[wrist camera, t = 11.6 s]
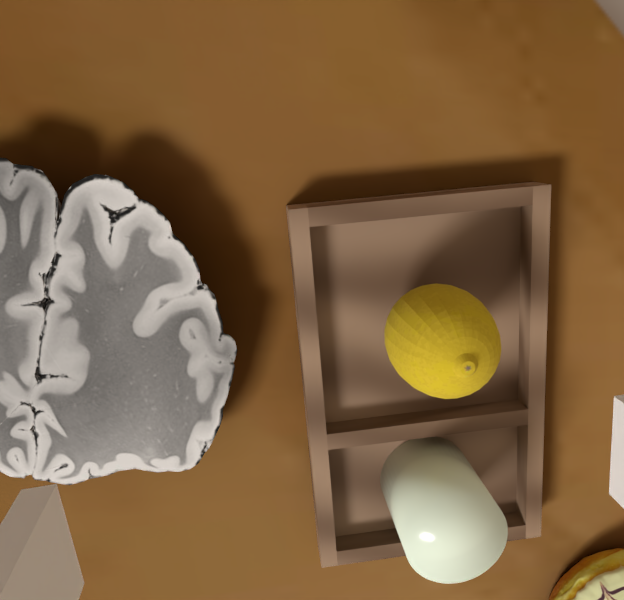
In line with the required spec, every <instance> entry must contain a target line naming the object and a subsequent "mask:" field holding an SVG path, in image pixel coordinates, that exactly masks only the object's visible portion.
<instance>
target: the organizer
mask: <svg viewBox="0 0 624 600" xmlns="http://www.w3.org/2000/svg"><path fill="white" fill-rule="evenodd" d="M286 210H287V221H288V231H289V242H290V253H291V263H292V274H293V285H294V295H295V306H296V317H297V327H298V338H299V348H300V359H301V370H302V380H303V391H304V402H305V412H306V423H307V434H308V444H309V455H310V466H311V476H312V487H313V498H314V508H315V519H316V529H317V540H318V549H319V555H320V561H321V567H322V568H323V567H330V566H337V565H344V564H351V563H358V562H365V561H372V560H379V559H386V558H393V557H400V556H406V554H405V551H404V549H403V546H402V543H401V541H400V538H399V535H398V533H397V530H396V527H395V524H394V522H393V519H392V516H391V514H390V511H389V508H388V506H387V503H386V500H385V498H384V495H383V492H382V489H381V483H380V476H381V471H382V468H383V465H384V463H385V461H386V459H387V458H388V456H389V455H390V454H391V453H392V452H393V451H394V450H395V449H396V448H397V447H398V446H400V445H401V444H403V443H404V442H406V441H408V440H411V439H419V438H427V437H435V436H437V437H441V438H444V439H447V440H449V441H451V442H452V443H454V444H455V445H456V446H457V447H458V448H459V449H460V450H461V451H462V453H463V454H464V456H465V457H466V459H467V460H468V462H469V463H470V464H471V466H472V467H473V469H474V470H475V472H476V473H477V475H478V476H479V478H480V479H481V481H482V482H483V484H484V485H485V487H486V488H487V490H488V491H489V493H490V494H491V496H492V497H493V499H494V500H495V502H496V503H497V505H498V506H499V508H500V509H501V511H502V512H503V514H504V516H505V519H506V522H507V526H508V536H507V541H513V540H520V539H527V538H534V537H541V515H542V482H543V448H544V414H545V380H546V346H547V312H548V278H549V245H550V211H551V184H545V183H539V182H526V183H515V184H504V185H494V186H483V187H473V188H462V189H452V190H441V191H431V192H420V193H410V194H399V195H388V196H378V197H367V198H357V199H346V200H336V201H325V202H315V203H304V204H294V205H286ZM436 283H437V284H447V285H452V286H455V287H457V288H460V289H463V290H465V291H467V292H469V293H470V294H472V295H473V296H474V297H476V298H477V299H478V300H480V301H481V302H482V303H483V305H484V306H485V307H486V308H487V310H488V311H489V312H490V314H491V315H492V317H493V318H494V320H495V323H496V325H497V328H498V331H499V333H500V339H501V356H500V362H499V364H498V366H497V369H496V371H495V373H494V374H493V376H492V377H491V379H490V380H489V381H488V382H487V383H486V384H485V385H484V386H483V387H482V388H481V389H479V390H478V391H476V392H474V393H472V394H470V395H467V396H464V397H460V398H455V399H442V398H437V397H433V396H429V395H427V394H425V393H423V392H421V391H419V390H417V389H415V388H413V387H412V386H411V385H410V384H408V383H407V382H406V381H405V380H404V379H403V378H402V377H401V376H400V375H399V374H398V373H397V371H396V370H395V368H394V366H393V365H392V363H391V362H390V360H389V357H388V354H387V350H386V347H385V337H384V330H385V325H386V321H387V317H388V315H389V313H390V311H391V309H392V307H393V306H394V305H395V303H396V302H397V301H398V300H399V299H400V298H401V297H402V296H403V295H405V294H406V293H408V292H409V291H410V290H412V289H415V288H417V287H420V286H422V285H428V284H436Z"/></svg>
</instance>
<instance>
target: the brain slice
mask: <svg viewBox="0 0 624 600" xmlns="http://www.w3.org/2000/svg"><path fill="white" fill-rule="evenodd" d="M236 353H237V348H236V343H235V340H234V339H233V338H232V337H231V336H230V335H228V334H224V333H223V323H222V319H221V316H220V313H219V310H218V306H217V302H216V298H215V295H214V293H212V292H211V291H210V290H209V288H208V287H207V285H206V284H202V282H201V280H200V270H199V268H198V265H197V263H196V260H195V258H194V257H193V255H192V254H191V253H190V251H189V250H188V248H187V247H186V246H185V244H184V243H183V242H182V241H181V240H179V239H178V238H177V237H176V236H175V235H174V234H173V233H172V229H171V225H170V222H169V221H168V219H167V218H166V217H165V216H164V215H163V214H162V213H161V212H160V211H159V210H158V209H157V208H156V207H154V206H153V205H152V204H150V203H149V202H147V201H145V200H142V199H139V198H138V197H137V195H136V194H135V193H134V191H133V190H132V189H131V188H129V187H128V186H127V185H126V184H125V183H123V182H121V181H119V180H117V179H115V178H113V177H110V176H108V175H99V174H94V175H91V176H87V177H85V178H83V179H81V180H79V181H77V182H75V183H73V184H72V185H71V187H70V188H69V189H68V190H67V192H66V193H65V195H64V199H63V202H62V206H61V203H60V201H59V199H58V197H57V193H56V192H55V190H54V188H53V186H52V184H51V182H50V181H49V179H48V178H47V177H46V175H45V174H44V173H43V171H41V170H38V169H36V168H33V166H26V165H17V164H13V163H11V162H10V161H9V160H7V159H6V158H0V472H2V473H4V474H6V475H8V476H10V477H17V478H25V477H26V476H27V475H32V476H33V478H34V480H42V481H47V480H48V482H53V483H60V484H66V485H72V484H76V483H80V482H83V481H85V480H87V479H91V478H97V477H102V476H106V475H110V474H113V473H115V472H117V471H122V470H129V469H140V470H145V471H152V472H165V471H175V472H180V471H184V470H188V469H191V468H192V467H194V466H195V465H197V464H198V463H199V461H200V460H201V458H202V456H203V455H204V453H205V452H206V451H207V450H208V449H209V447H210V445H211V443H212V441H213V439H214V437H215V435H216V433H217V431H218V429H219V427H220V424H221V420H222V417H223V407H224V405H225V402H226V399H227V396H228V392H229V389H230V385H231V381H232V377H233V373H234V368H235V366H234V363H233V362H234V361H235V357H236Z"/></svg>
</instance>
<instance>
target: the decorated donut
mask: <svg viewBox="0 0 624 600" xmlns="http://www.w3.org/2000/svg"><path fill="white" fill-rule="evenodd" d="M549 600H624V549H623V548H616V549H612V550H605V551H602V552H598V553H596V554H593V555H591V556H587V557H584V558H583V559H582V560H580V561H579V562H578V563H577V564H576V565H574V566H573V567H572V568H571V569H570V570H569V571H568V572H567V573H566V574H564V575H563V576H562V577H561V578H560V580H559V581H558V583H557V584H556V585H555V587H554V589H553V591H552V593H551V595H550V597H549Z"/></svg>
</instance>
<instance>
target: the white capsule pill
mask: <svg viewBox="0 0 624 600" xmlns="http://www.w3.org/2000/svg"><path fill="white" fill-rule="evenodd" d="M380 483H381V489H382V492H383V495H384V498H385V500H386V503H387V506H388V508H389V511H390V514H391V516H392V519H393V522H394V524H395V527H396V530H397V533H398V535H399V538H400V541H401V543H402V546H403V549H404V551H405V554H406V557H407V559H408V561H409V563H410V565H411V566H412V568H413V569H414V570H415V571H416V572H417V573H418V574H420V575H421V576H423V577H424V578H426V579H429V580H431V581H434V582H438V583H449V584H451V583H459V582H464V581H467V580H470V579H473V578H475V577H477V576H479V575H481V574H482V573H484V572H485V571H487V570H488V569H489V568H490V567H491V566H492V565H493V564H494V563H495V562H496V561H497V560H498V558H499V557H500V556H501V554H502V552H503V550H504V548H505V545H506V542H507V536H508V526H507V522H506V519H505V516H504V514H503V512H502V511H501V509H500V508H499V506H498V505H497V503H496V502H495V500H494V499H493V497H492V496H491V494H490V493H489V491H488V490H487V488H486V487H485V485H484V484H483V482H482V481H481V479H480V478H479V476H478V475H477V473H476V472H475V470H474V469H473V467H472V466H471V464H470V463H469V462H468V460H467V459H466V457H465V456H464V454H463V453H462V451H461V450H460V449H459V448H458V447H457V446H456V445H455V444H454V443H452V442H451V441H449V440H447V439H444V438H441V437H437V436H435V437H427V438H419V439H411V440H408V441H406V442H404V443H403V444H401V445H400V446H398V447H397V448H396V449H395V450H394V451H393V452H392V453H391V454H390V455H389V456H388V458H387V459H386V461H385V463H384V465H383V468H382V471H381V476H380Z"/></svg>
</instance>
